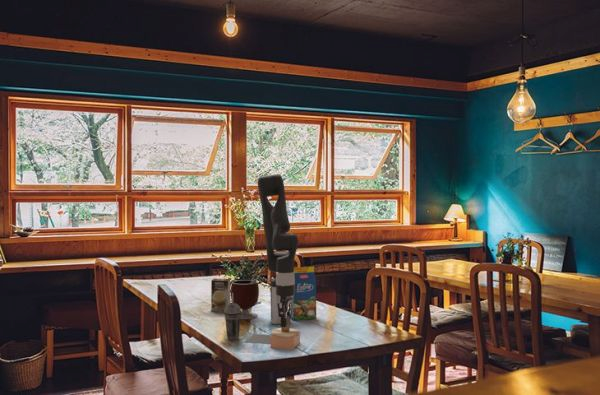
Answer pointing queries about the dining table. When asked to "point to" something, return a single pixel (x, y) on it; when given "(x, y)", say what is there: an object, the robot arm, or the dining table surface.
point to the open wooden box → (284, 342)
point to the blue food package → (304, 294)
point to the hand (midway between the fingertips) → (285, 325)
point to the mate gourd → (245, 296)
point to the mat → (259, 339)
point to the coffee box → (220, 294)
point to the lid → (285, 331)
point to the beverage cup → (232, 320)
